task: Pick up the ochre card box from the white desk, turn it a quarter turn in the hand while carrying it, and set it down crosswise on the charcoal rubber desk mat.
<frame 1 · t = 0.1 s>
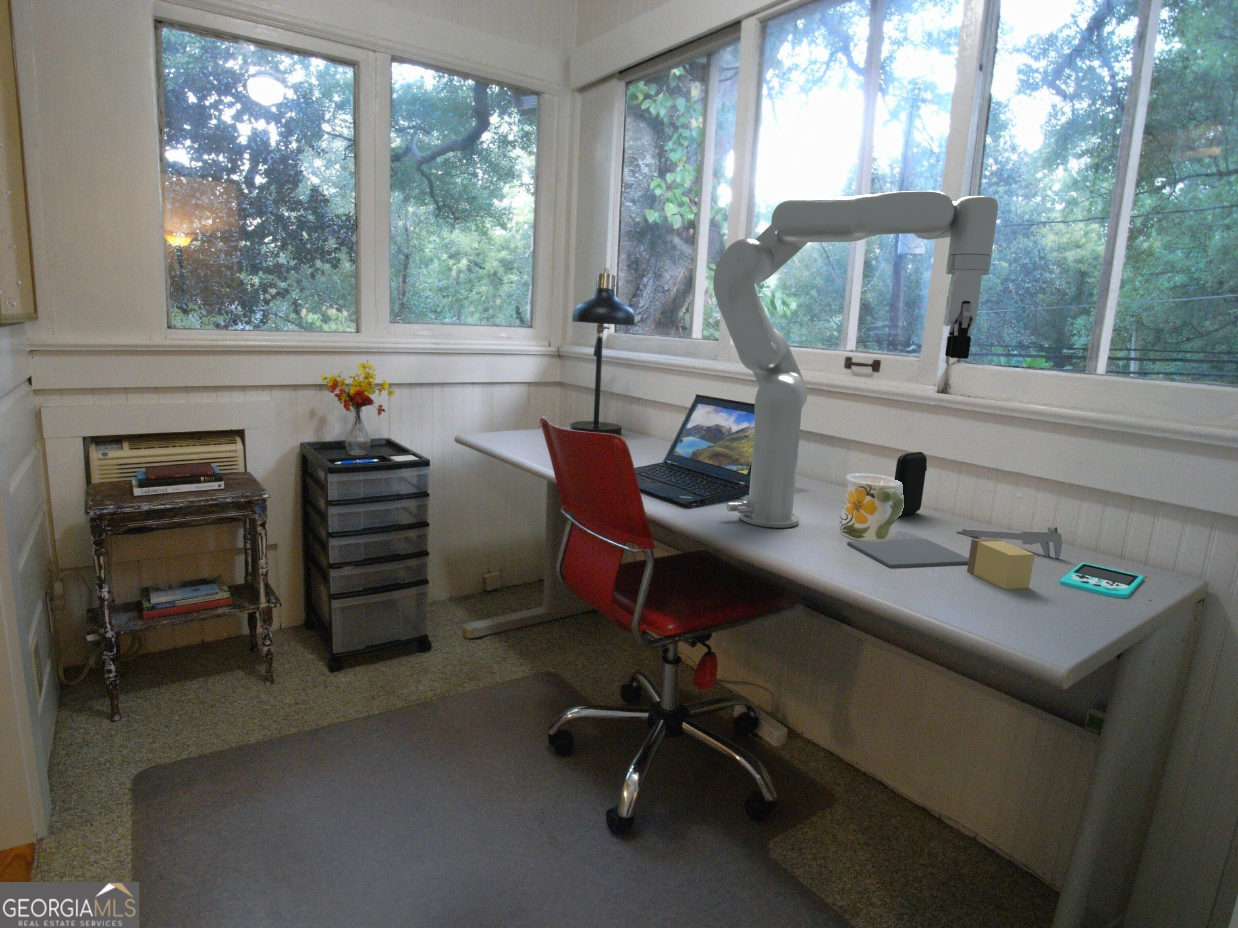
hand: (956, 357, 144), 37 cm above the table, tool pointing down, fingers open, 9 cm apart
handheld game console: (1100, 585, 132), on the table
card box: (997, 579, 130), on the table
caliper: (1005, 547, 152), on the table
desk mat: (908, 553, 142), on the table
carrying case or bag: (906, 515, 173), on the table
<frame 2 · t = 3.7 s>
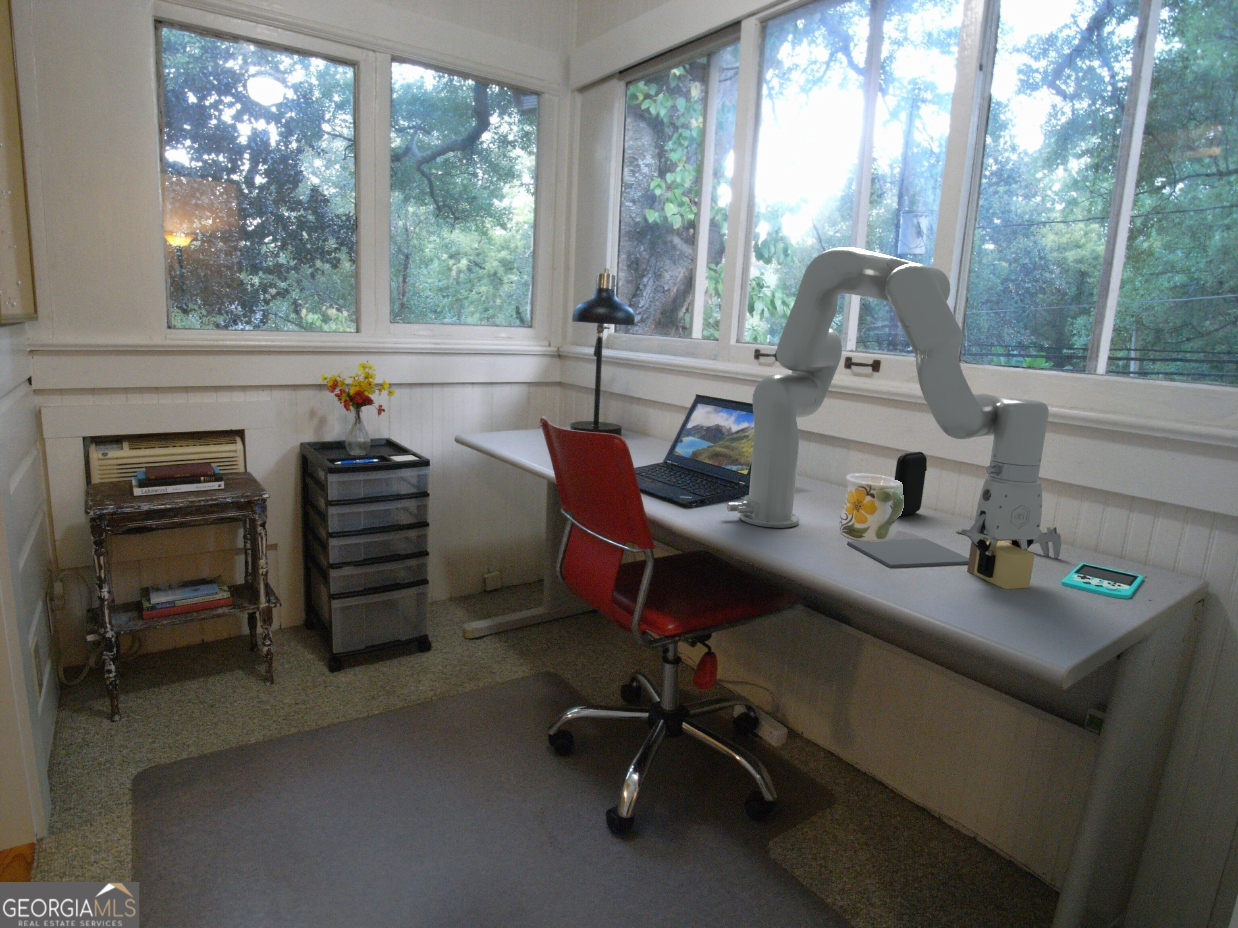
hand: (998, 573, 130), 1 cm above the table, tool pointing down, fingers closed on card box, 4 cm apart
card box: (997, 579, 130), on the table, touching gripper
everything else where it was.
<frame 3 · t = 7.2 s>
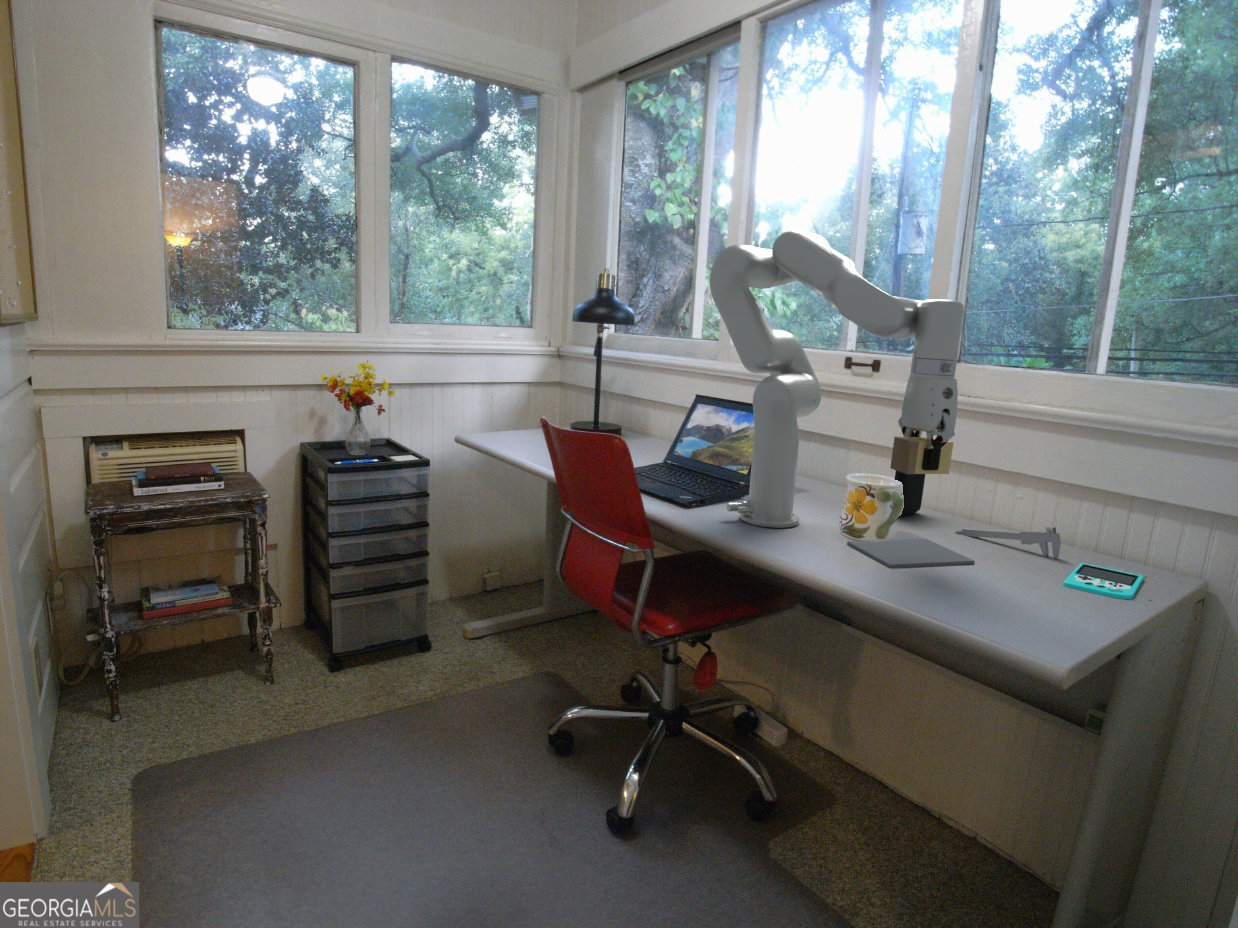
hand: (920, 465, 139), 17 cm above the table, tool pointing down, fingers closed on card box, 4 cm apart
card box: (919, 471, 139), point 16 cm above the table, touching gripper
everything else where it was.
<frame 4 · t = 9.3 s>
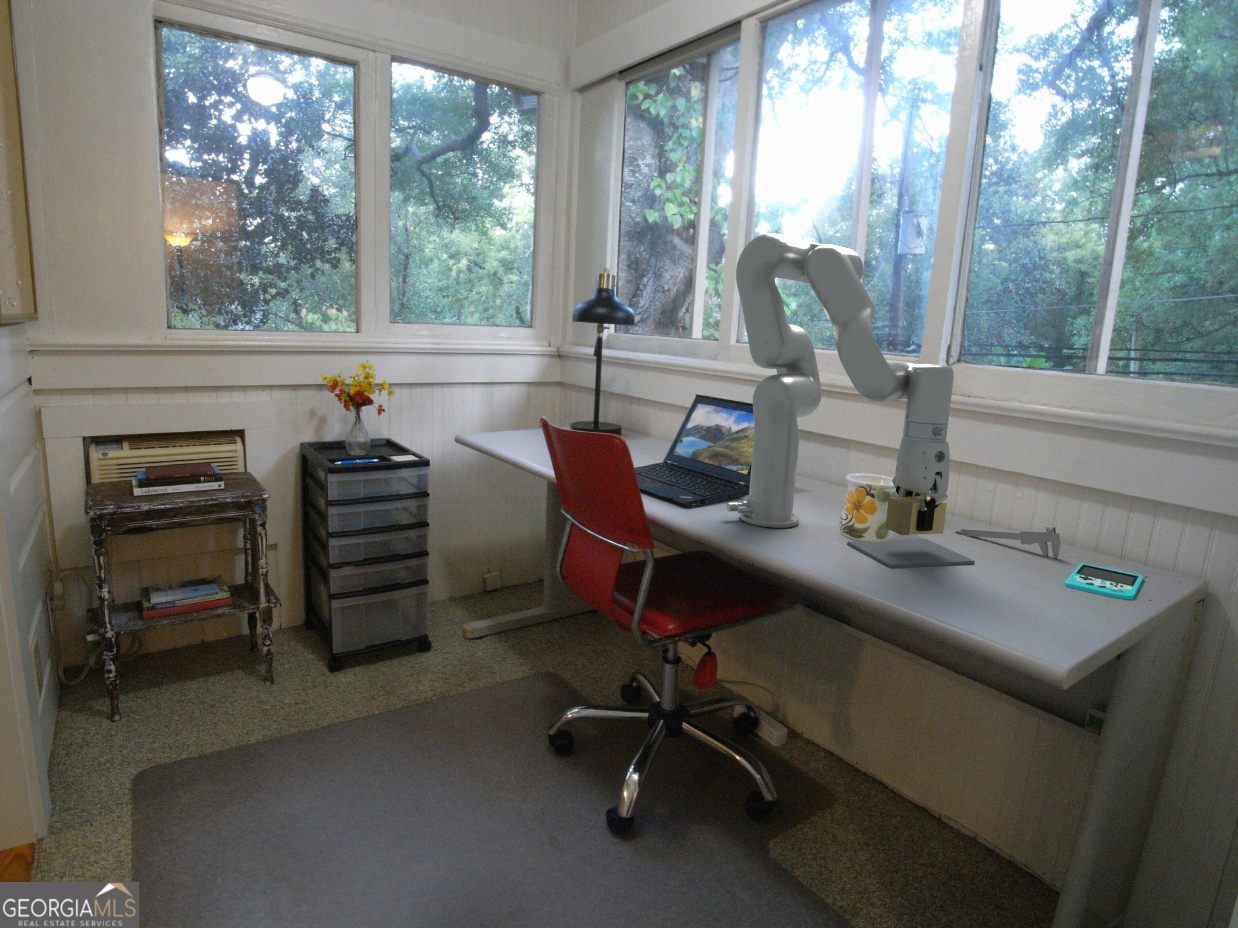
hand: (914, 525, 141), 6 cm above the table, tool pointing down, fingers closed on card box, 4 cm apart
card box: (913, 530, 141), point 5 cm above the table, touching gripper
everything else where it was.
when the fingers open (3 cm above the table, at t = 10.8 s): card box stays where it is, resting on desk mat.
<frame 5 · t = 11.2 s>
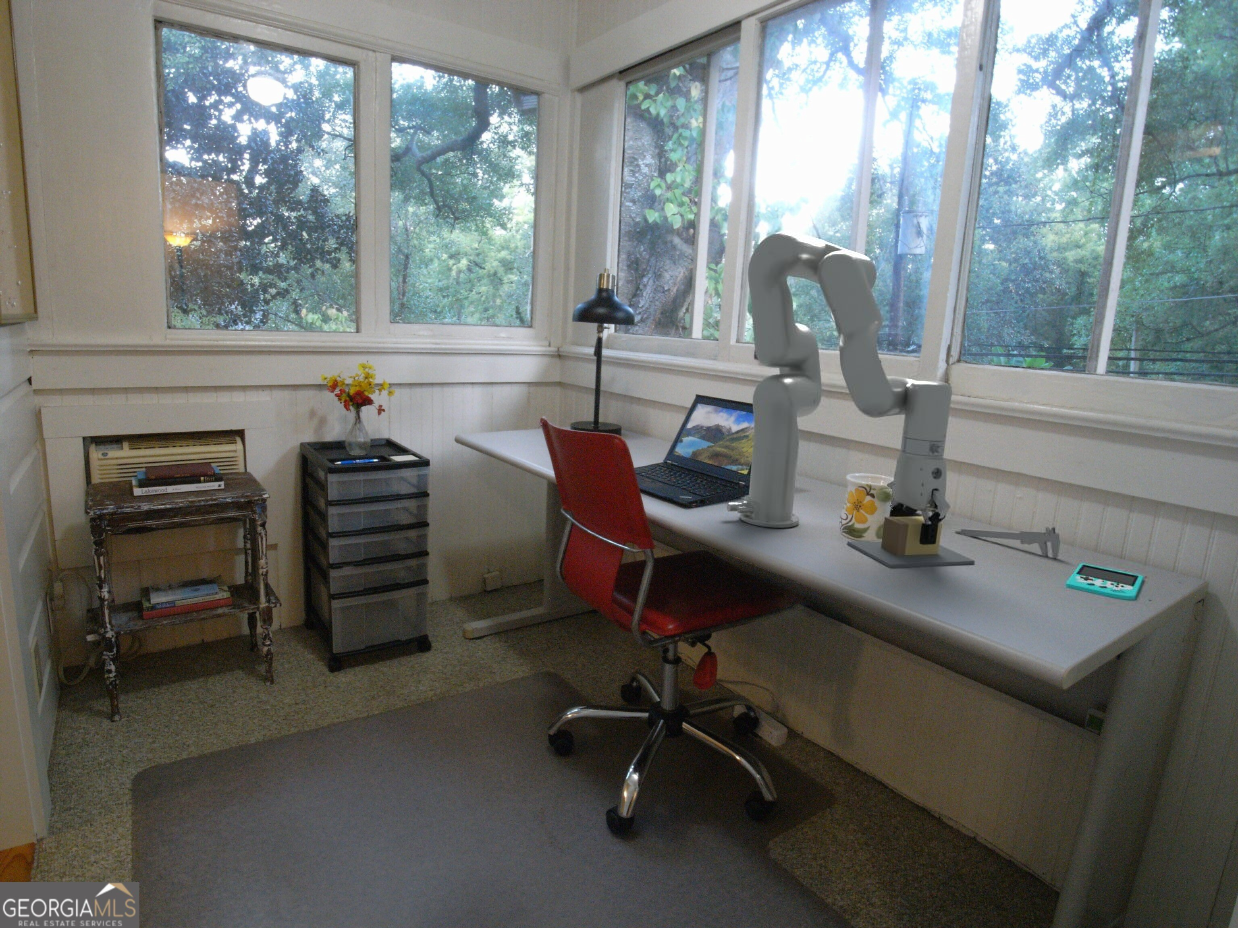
hand: (911, 536, 142), 3 cm above the table, tool pointing down, fingers open, 9 cm apart
card box: (909, 550, 142), point 1 cm above the table, touching desk mat
everything else where it was.
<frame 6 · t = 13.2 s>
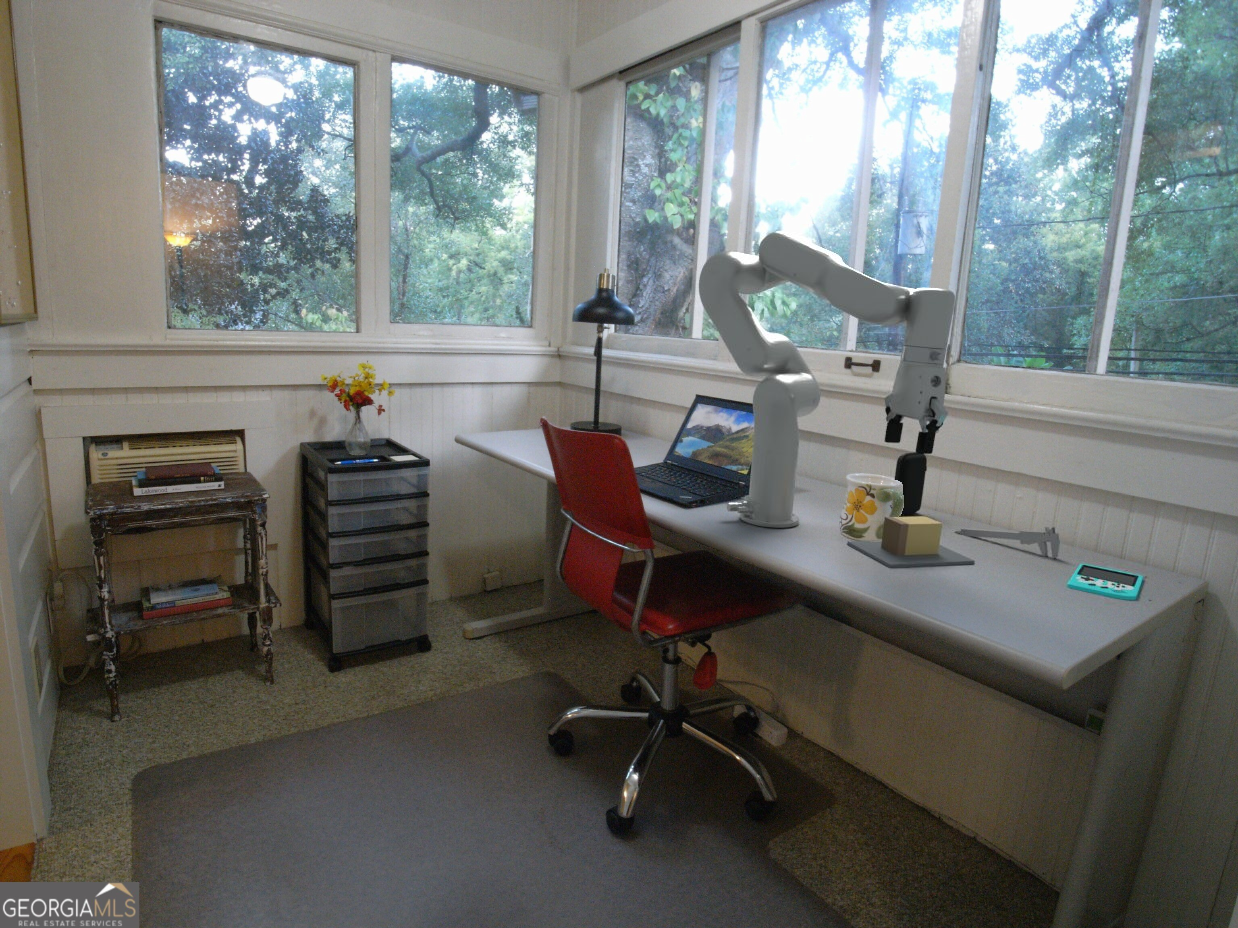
hand: (907, 447, 141), 20 cm above the table, tool pointing down, fingers open, 9 cm apart
nothing on the table moved.
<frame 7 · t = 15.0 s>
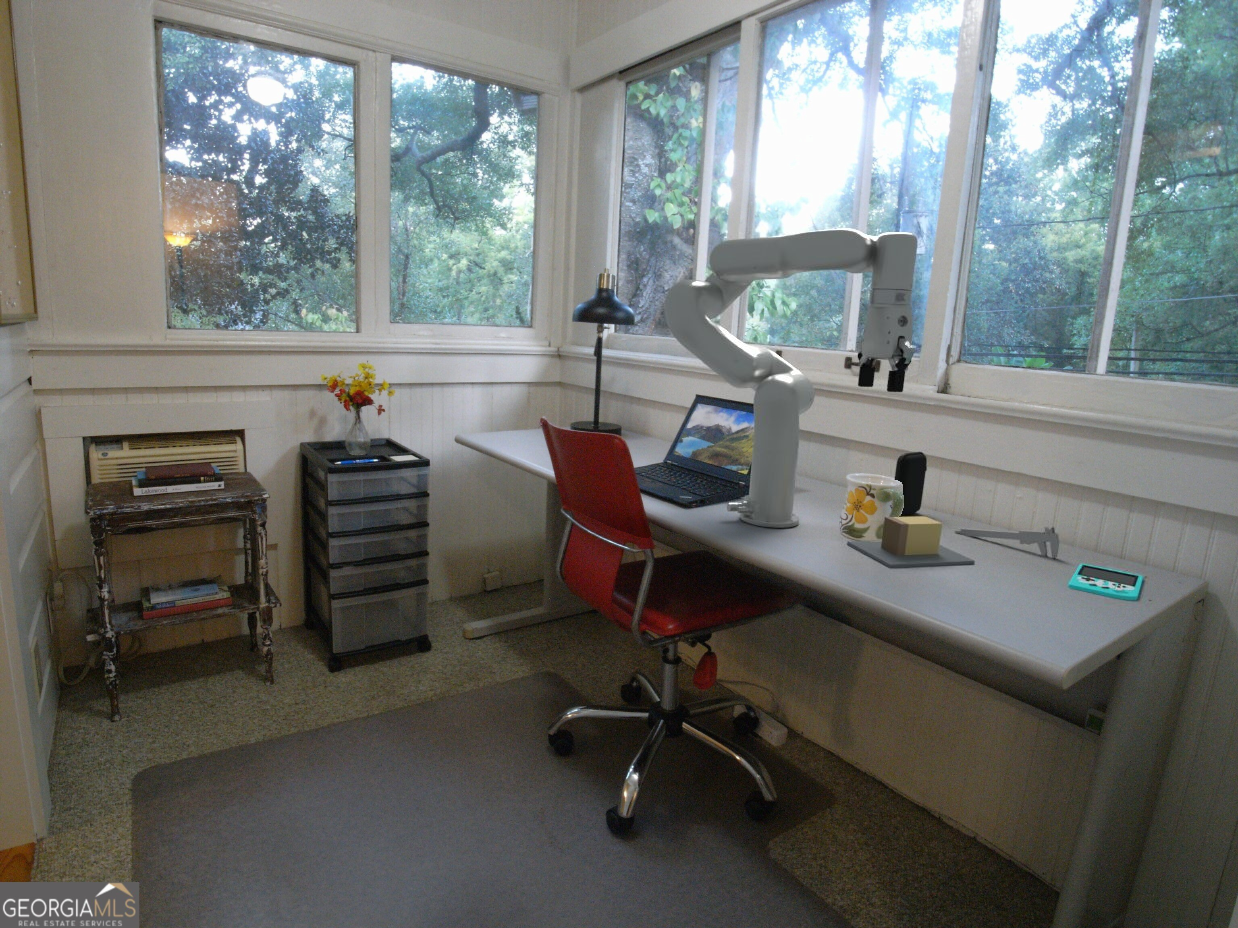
hand: (879, 389, 146), 30 cm above the table, tool pointing down, fingers open, 9 cm apart
nothing on the table moved.
at the end: card box inside the target area on the desk mat (0.1 cm from its centre), point 0.6 cm above the desk mat's base; card box touching desk mat; card box tilted 0° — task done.
